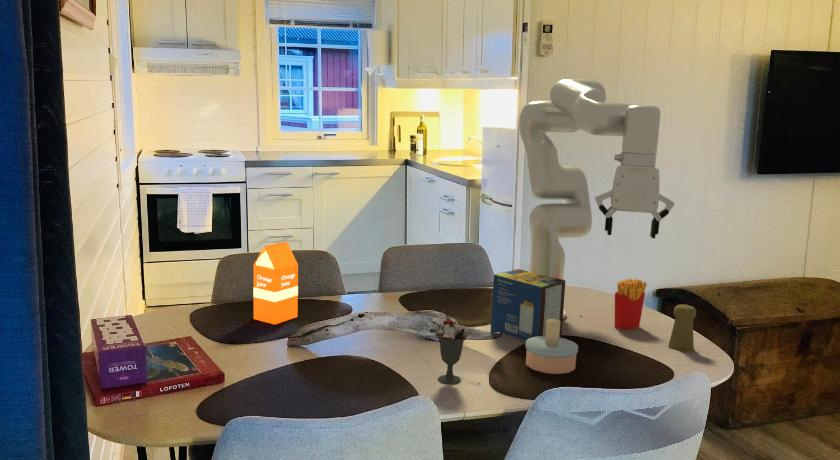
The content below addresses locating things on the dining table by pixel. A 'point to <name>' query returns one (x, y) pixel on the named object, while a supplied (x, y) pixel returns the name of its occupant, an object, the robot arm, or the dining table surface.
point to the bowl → (550, 363)
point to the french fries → (629, 303)
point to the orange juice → (275, 284)
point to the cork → (683, 329)
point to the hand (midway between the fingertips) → (630, 235)
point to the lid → (552, 343)
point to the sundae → (450, 348)
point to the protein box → (526, 303)
